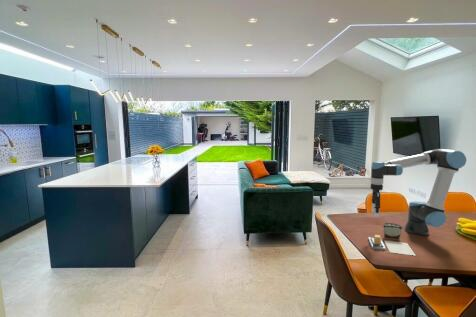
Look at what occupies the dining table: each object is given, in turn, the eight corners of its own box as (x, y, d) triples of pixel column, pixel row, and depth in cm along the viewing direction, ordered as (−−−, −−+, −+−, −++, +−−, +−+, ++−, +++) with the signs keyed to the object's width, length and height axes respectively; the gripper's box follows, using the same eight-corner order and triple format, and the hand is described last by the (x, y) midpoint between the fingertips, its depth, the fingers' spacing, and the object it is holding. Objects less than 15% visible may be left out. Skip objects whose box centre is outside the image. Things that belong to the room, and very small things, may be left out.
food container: (399, 236, 184) (400, 223, 183) (401, 240, 178) (402, 226, 177) (380, 234, 188) (381, 221, 187) (382, 238, 182) (382, 224, 181)
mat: (407, 243, 173) (407, 243, 173) (415, 256, 156) (415, 255, 156) (383, 240, 177) (383, 240, 177) (390, 252, 161) (390, 252, 161)
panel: (380, 240, 178) (380, 237, 177) (385, 250, 164) (385, 247, 163) (368, 239, 180) (368, 236, 180) (371, 248, 166) (371, 245, 166)
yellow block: (379, 242, 171) (379, 235, 170) (380, 244, 167) (380, 237, 167) (373, 241, 172) (374, 234, 171) (375, 244, 168) (375, 237, 168)
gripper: (368, 180, 189) (366, 209, 191) (373, 186, 167) (371, 219, 170) (379, 181, 186) (377, 210, 189) (386, 187, 165) (384, 220, 168)
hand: (375, 214), depth 179 cm, fingers open, 10 cm apart
